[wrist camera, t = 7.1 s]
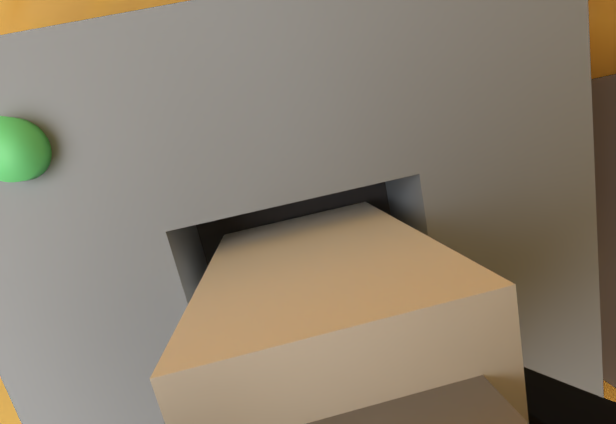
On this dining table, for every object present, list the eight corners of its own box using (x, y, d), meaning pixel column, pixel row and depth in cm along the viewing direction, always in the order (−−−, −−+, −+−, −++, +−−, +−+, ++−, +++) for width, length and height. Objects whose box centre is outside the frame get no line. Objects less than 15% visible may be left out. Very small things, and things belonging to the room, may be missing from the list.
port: (515, 424, 14) (618, 541, 10) (175, 522, 13) (132, 697, 9) (472, 6, 11) (598, -82, 7) (19, 95, 10) (-163, 56, 6)
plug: (398, 385, 11) (735, 997, 3) (274, 419, 11) (290, 1191, 3) (365, 201, 10) (780, 429, 2) (224, 234, 9) (-3, 672, 2)
